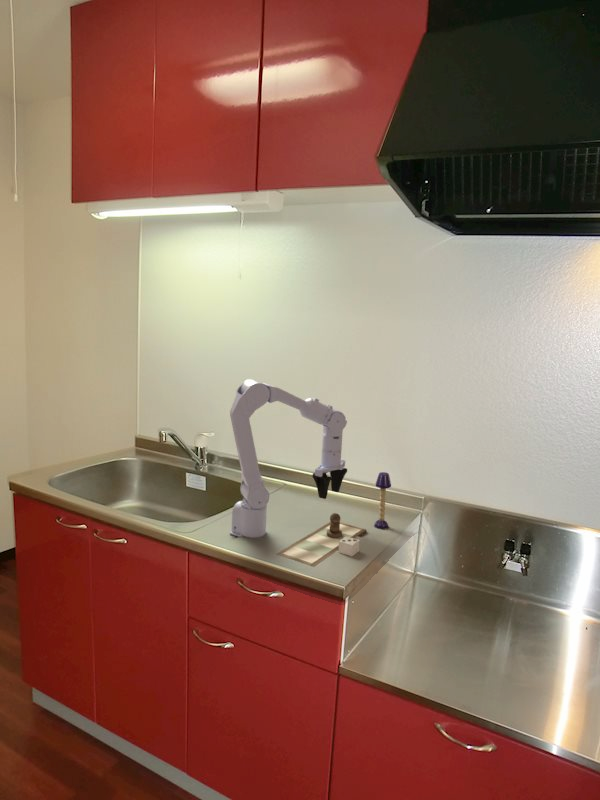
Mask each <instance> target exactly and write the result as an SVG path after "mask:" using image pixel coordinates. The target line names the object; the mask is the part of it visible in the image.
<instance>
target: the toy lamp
mask: <svg viewBox="0 0 600 800" xmlns="http://www.w3.org/2000/svg"><path fill="white" fill-rule="evenodd" d="M375 487H377V488H379V490H380V492H379V508H378V509H379V511H378V515H379V517H378V519H377V520H376V521H375V522H374V525H373V526H374V528H376V527H377V529H379V528H381V529H380V530H385V528H386V529H388V528H389V524H388V522H387V521H386V520H385V516H386V512H385V510H386V506H385V505H386V502H385V501H386V490H387V489H389V488H391V487H392V483H391V478H390V474H389V473H388V472H385V471H384V472H383V471H381V472H379V473H378V476H377V478H376V481H375Z"/></svg>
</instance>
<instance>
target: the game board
mask: <svg viewBox="0 0 600 800" xmlns="http://www.w3.org/2000/svg"><path fill="white" fill-rule="evenodd" d="M328 529H330V521H329V522H328V523H326V524H324V525H323V526H320V527H319V528H317V529H315V530H314V531H312V532H311V533H309V534H307V535H306V536H304V537H303V538H301V539H299V540H297V541H296V542H294V543H292V544H291V545H289V546H287V547H285V548H283V550H280V551H279V552H277V553H276V555H277V556H280V557H283V558H286V559H290V560H293V561H295V562H299V563H301V564H304V565H307V566H310V567H313V568H315V567H316V566H317V565H318V564H320V563H322V562H323V561H325V560H326V559H327V558H329V557H330V556H332V555H333V554H334V553H335V552H337V551H339V541H340V540H341V539H343V538H344V537H346V536H347V537H350V538H354V539H357V537H359V538H361V536H363V535H364V533H365V534H367V529H365V528H363V527H358V526H355V525H351V524H347V523H344V522H341V521H340V529H339V530H341V531H342V536H341V537H340V538H331V537H328V536H327V530H328Z"/></svg>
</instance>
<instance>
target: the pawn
mask: <svg viewBox="0 0 600 800" xmlns="http://www.w3.org/2000/svg"><path fill="white" fill-rule="evenodd" d="M329 522H330V529H328V530H327V536H328V537H331V538H340V537H341V536H342V531H341V530H339V529H340V522H341V516H340V514H339V513H337V512H333V513H332V514H331V515H330V516H329Z"/></svg>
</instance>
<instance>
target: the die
mask: <svg viewBox="0 0 600 800" xmlns="http://www.w3.org/2000/svg"><path fill="white" fill-rule="evenodd" d="M337 551H338V552H337V553H340V554H343V555H346V556H349V557H353V556H354V555H356V554H357V553H358V552H360V539H357V538H350V537H347V536H346V537H344V538H343V539H341V540H340V541H339V549H338V550H337Z"/></svg>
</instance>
